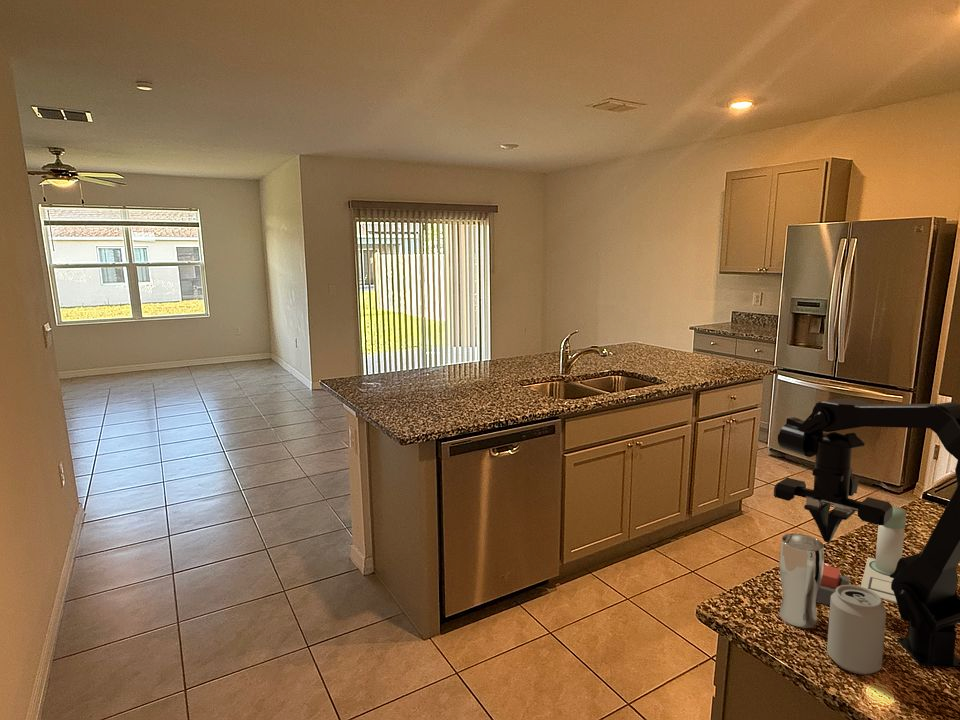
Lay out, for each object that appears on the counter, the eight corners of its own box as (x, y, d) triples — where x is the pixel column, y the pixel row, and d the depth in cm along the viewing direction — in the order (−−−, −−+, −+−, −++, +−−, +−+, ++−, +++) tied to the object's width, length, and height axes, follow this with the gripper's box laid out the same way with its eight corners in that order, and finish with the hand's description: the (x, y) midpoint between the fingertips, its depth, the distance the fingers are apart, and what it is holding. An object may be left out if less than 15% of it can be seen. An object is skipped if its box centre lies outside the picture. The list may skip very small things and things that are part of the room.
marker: (899, 576, 116) (904, 516, 114) (872, 568, 119) (877, 510, 117) (902, 567, 119) (908, 509, 117) (876, 560, 122) (881, 503, 120)
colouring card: (907, 606, 106) (907, 604, 106) (859, 593, 111) (859, 591, 111) (911, 568, 119) (911, 567, 119) (867, 558, 124) (867, 556, 124)
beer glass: (797, 633, 100) (802, 553, 97) (768, 611, 106) (771, 536, 104) (829, 625, 102) (834, 547, 99) (798, 604, 108) (802, 530, 106)
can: (864, 647, 95) (869, 581, 94) (891, 679, 88) (898, 608, 86) (817, 646, 96) (822, 580, 94) (841, 677, 89) (846, 607, 87)
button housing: (844, 609, 106) (845, 595, 105) (798, 596, 111) (799, 582, 110) (849, 591, 112) (850, 577, 111) (805, 579, 116) (806, 565, 116)
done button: (836, 593, 108) (837, 578, 107) (809, 585, 111) (810, 571, 110) (839, 583, 111) (840, 568, 111) (813, 576, 114) (814, 562, 113)
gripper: (904, 465, 105) (897, 544, 108) (797, 444, 119) (793, 514, 122) (886, 481, 98) (879, 565, 100) (774, 457, 112) (770, 530, 115)
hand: (827, 541), depth 109 cm, fingers closed
